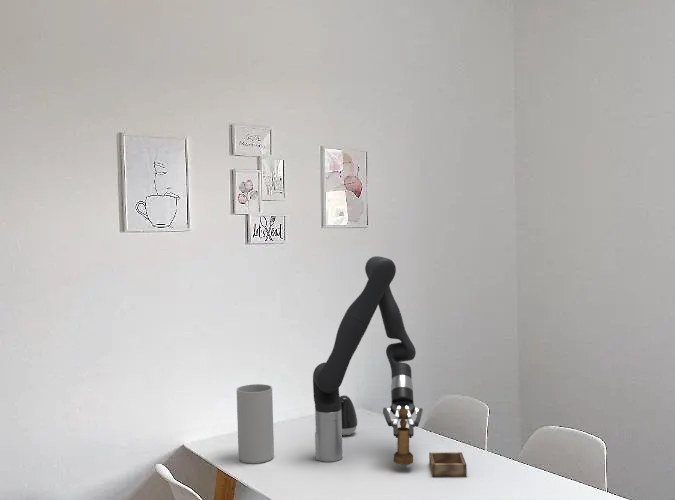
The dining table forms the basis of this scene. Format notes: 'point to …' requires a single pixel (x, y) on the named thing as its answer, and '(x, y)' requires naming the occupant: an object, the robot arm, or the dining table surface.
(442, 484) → the dining table surface
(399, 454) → the brown wooden chess piece
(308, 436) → the dining table surface
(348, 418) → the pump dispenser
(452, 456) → the box
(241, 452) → the cylinder vase
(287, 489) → the dining table surface
